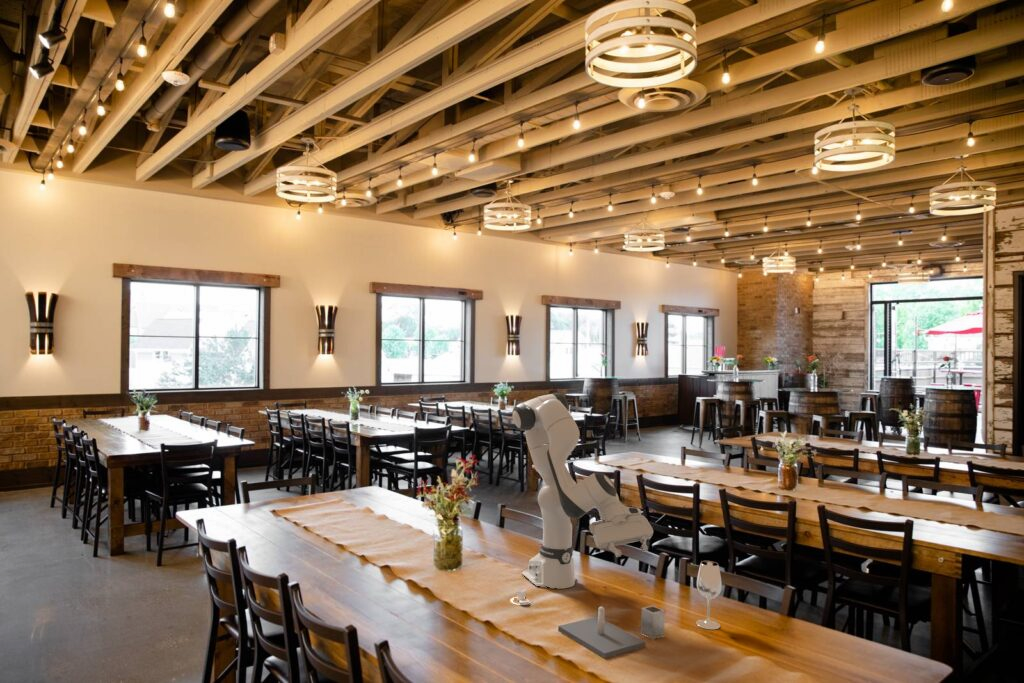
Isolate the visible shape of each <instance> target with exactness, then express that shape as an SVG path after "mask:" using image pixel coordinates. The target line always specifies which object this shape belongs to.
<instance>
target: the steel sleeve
mask: <svg viewBox="0 0 1024 683" xmlns="http://www.w3.org/2000/svg"><path fill="white" fill-rule="evenodd" d="M665 615H666V610H665V609H663V608H662V609H661V608H660V607H657V606H656V605H648V606H646V607H641V624H640V625H641V626H640V627H641V628H640V634H641V633H642V634H644V635H646V636H648V637H649V638H648V637H647V638H648V639H650V638H651V639H650V640H652V639H654V640H656V639H655V638H658V637H661V638H663V637H662V636H664V637H665V624H666V623H665V619H666V618H665ZM642 634H641V635H642ZM644 635H643V636H644ZM646 636H645V637H646ZM658 639H659V638H658Z"/></svg>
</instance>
